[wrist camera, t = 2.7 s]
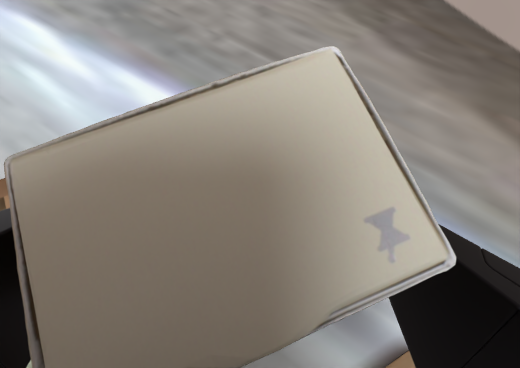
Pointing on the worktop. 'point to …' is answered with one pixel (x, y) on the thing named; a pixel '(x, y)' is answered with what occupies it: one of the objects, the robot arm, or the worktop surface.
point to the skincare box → (217, 222)
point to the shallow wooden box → (403, 362)
